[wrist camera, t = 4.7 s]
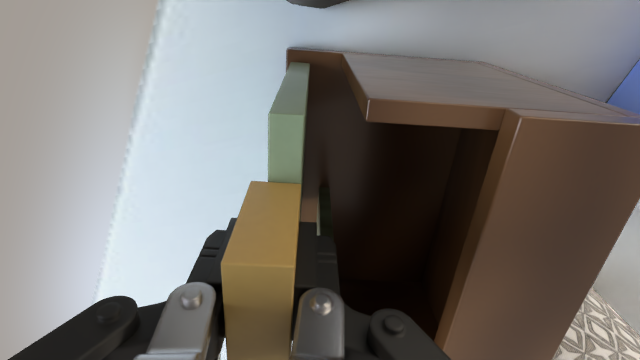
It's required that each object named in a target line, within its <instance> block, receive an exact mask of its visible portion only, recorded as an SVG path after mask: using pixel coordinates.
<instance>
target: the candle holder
mask: <svg viewBox="0 0 640 360" xmlns="http://www.w3.org/2000/svg"><path fill="white" fill-rule="evenodd" d="M287 1H288V2H290V3H291V4H297V5H301V6H308V7H315V8H326V7H330V6H333V5H336V4H340V3H343V2H346V1H349V0H287Z"/></svg>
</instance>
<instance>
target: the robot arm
mask: <svg viewBox="0 0 640 360" xmlns="http://www.w3.org/2000/svg"><path fill="white" fill-rule="evenodd" d="M236 221H237V218H231V220H230V222H229V225H228V228H227V230H216V231H215V232H213V233H212V234H211V235H210V236H209V237H208V238H207V239H206V241H205V243H204V246H203V249H202V250H201V252H200V254H199V257H198V259H197V261H196V263H195V265H194V267H193V269H192V271H191V274H190V276H189V278H188V280H187V282H186V284H184V285H182V286H180V287H178V288H177V289H175V290H174V291H173V292H172V293H171V294H170V295H169V297H168V299H167V301H165V302H162V303H158V304H153V305H148V306H143V307H138V308H137V304H136V302H135V301H134V300H133V299H132V298H130V297H126V296H114V297H109V298H106V299H103V300H101V301H99V302H97V303H95V304H94V305H92V306H90V307H89V308H87V309H86V310H84V311H83V312H81V313H80V314H78V315H77V316H75V317H73V318H72V319H70V320H69V321H67V322H66V323H64V324H62V325H61V326H59V327H58V328H56V329H55V330H53V331H52V332H50V333H48V334H47V335H46V336H44V337H43V338H41V339H39V340H38V341H36V342H34V343H33V344H31V345H30V346H28V347H27V348H25V349H24V350H22V351H20V352H19V353H17V354H16V355H14V356H13V357H11V358H10V359H8V360H220V358H221V354H220V351H221V348H222V345H223V341H224V338H226V334H225V319H224V305H223V290H222V275H221V261H222V259H223V256H224V253H225V251H226V248H227V245H228V242H229V240H230V237H231V234H232V232H233V229H234V226H235V223H236ZM291 341H293V344H292V351H291V356H289V360H451V359H450V358H449V357H448V355H447V354H446V353H445V352H444V351H443V350H442V349H441V348H440V347H439V346H438V345H437V344H436V343H435V342H434V341H433V340H432V339H431V338H430V337H429V336H428V335H427V334H426V333H425V332H424V331H423V330H422V329H421V328H420V327H419V326H418V325H417V324H416V323H415V322H414V321H413V320H412V319H411V318H410V317H409V316H408V315H406V314H405V313H403V312H401V311H399V310H395V309H389V308H388V309H381V310H378V311H376V312H375V313H374V314H373V315H372V316H369V315H366V314H363V313H360V312H357V311H355V310H353V309H351V308H350V307H349V306H348V305H346V304H345V302H344V301H343V299H342V298H341V295H340V287H339V275H338V264H337V253H336V244H335V243H334V241H333V240H332V239H331V237H330V236H321V235H317V222H300V221H299V230H298V243H297V256H296V269H295V283H294V300H293V320H292V339H291Z"/></svg>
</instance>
